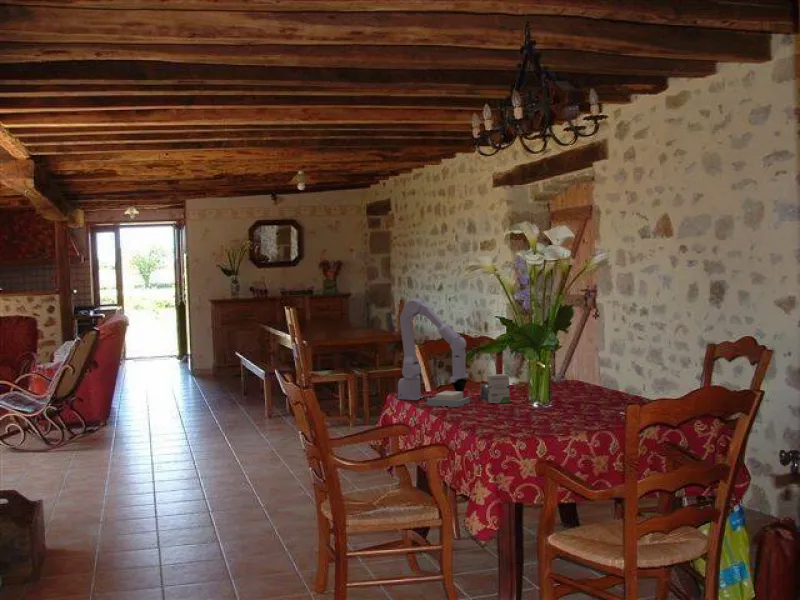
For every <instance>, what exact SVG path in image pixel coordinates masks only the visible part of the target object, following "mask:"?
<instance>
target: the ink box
mask: <svg viewBox="0 0 800 600" xmlns="http://www.w3.org/2000/svg"><path fill="white" fill-rule="evenodd" d="M487 384H488V400H487V402H488V403H489V404H490V403H495V404H510V403H511V395H510V375H508V374H507V373H504V374H502V373H501V374H487Z"/></svg>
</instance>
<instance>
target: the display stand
mask: <svg viewBox="0 0 800 600" xmlns="http://www.w3.org/2000/svg"><path fill="white" fill-rule="evenodd" d="M469 402H470V403H471V397H470V396H465V397H463V399H461V400H448V399H436V396H434V397H431V398H430V397H428V398H426V405H427V406H428V407H438V406H442V408H446V407H445V406H448V407H447V408H453V407H459V406H461V407H463V406H465V405H464V404H466V405H468V404H470V403H469ZM467 403H468V404H467ZM462 405H463V406H462ZM459 408H460V407H459Z"/></svg>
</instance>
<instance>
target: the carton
mask: <svg viewBox="0 0 800 600" xmlns="http://www.w3.org/2000/svg"><path fill="white" fill-rule="evenodd" d="M435 397H436V399H448V400H461V399H463V398H464V392H461V391H455V390H444V391H441V392H438V393H436V394H435Z"/></svg>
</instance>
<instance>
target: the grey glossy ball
mask: <svg viewBox="0 0 800 600" xmlns="http://www.w3.org/2000/svg"><path fill="white" fill-rule="evenodd" d="M479 387H480V390H479V391H480V399H481V398H482V399H488V383H483V384H480V386H479ZM482 399H481V400H482Z"/></svg>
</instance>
